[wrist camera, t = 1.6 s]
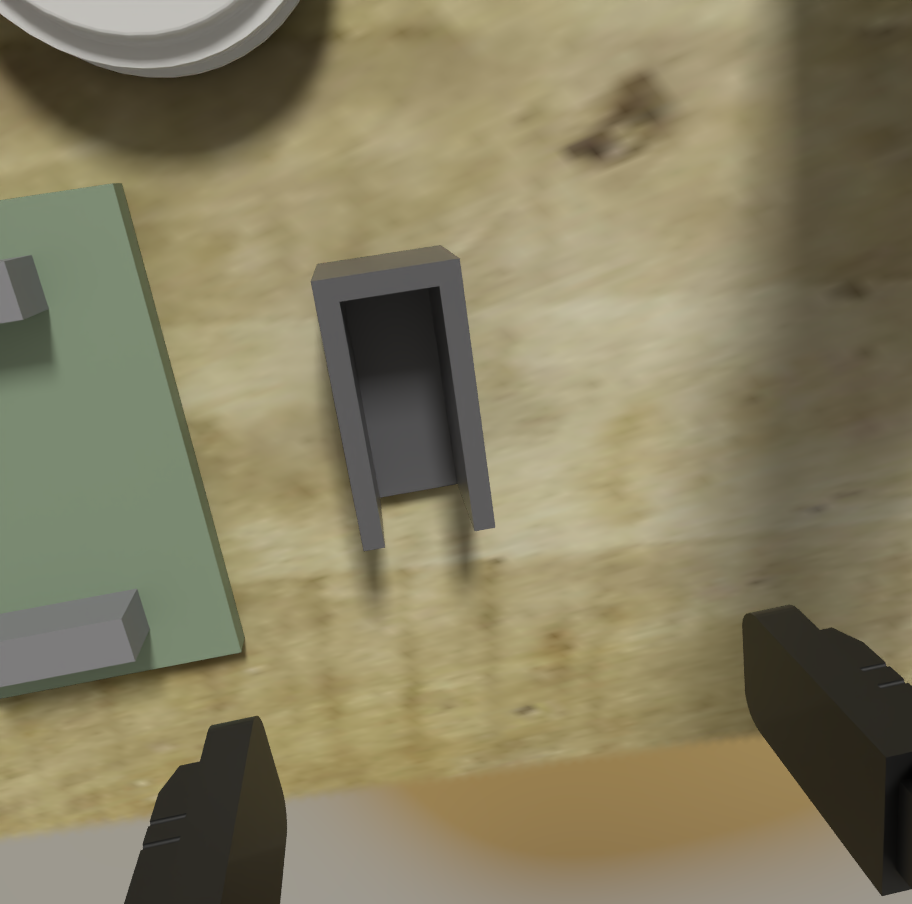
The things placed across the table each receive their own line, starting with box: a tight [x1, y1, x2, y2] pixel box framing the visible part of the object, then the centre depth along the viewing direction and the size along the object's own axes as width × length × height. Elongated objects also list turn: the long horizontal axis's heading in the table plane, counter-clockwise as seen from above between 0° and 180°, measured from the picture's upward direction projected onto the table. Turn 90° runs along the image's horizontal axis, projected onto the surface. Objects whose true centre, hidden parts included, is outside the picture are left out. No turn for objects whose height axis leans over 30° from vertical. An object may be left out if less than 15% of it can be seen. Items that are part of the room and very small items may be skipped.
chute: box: [311, 245, 495, 551], centre depth 31 cm, size 10×5×6 cm, turn 8°
